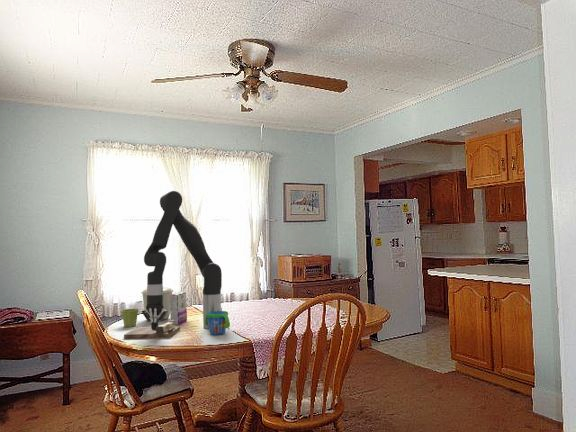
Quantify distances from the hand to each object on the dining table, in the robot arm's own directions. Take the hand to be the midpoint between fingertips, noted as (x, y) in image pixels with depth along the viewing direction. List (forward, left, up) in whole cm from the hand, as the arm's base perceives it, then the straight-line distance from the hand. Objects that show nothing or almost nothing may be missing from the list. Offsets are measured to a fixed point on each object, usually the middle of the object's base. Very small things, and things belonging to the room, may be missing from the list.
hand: (154, 330), depth 205 cm
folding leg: (-4, -4, -1) cm, 6 cm away
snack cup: (-29, -4, -3) cm, 30 cm away
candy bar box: (-1, -34, -3) cm, 34 cm away
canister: (+15, -46, -3) cm, 48 cm away
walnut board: (+3, -5, -3) cm, 6 cm away
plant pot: (+24, -28, -3) cm, 37 cm away
